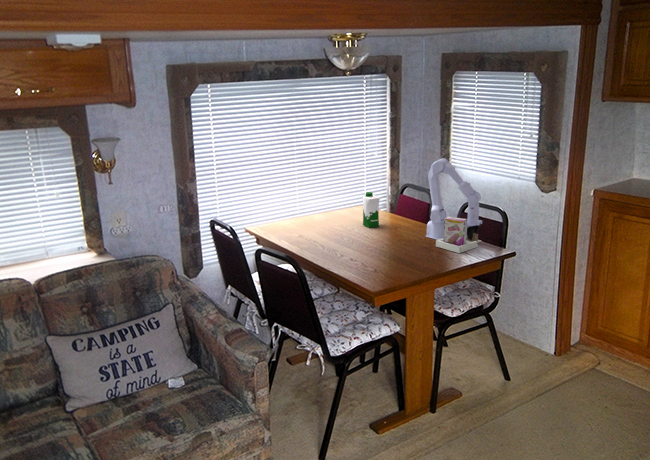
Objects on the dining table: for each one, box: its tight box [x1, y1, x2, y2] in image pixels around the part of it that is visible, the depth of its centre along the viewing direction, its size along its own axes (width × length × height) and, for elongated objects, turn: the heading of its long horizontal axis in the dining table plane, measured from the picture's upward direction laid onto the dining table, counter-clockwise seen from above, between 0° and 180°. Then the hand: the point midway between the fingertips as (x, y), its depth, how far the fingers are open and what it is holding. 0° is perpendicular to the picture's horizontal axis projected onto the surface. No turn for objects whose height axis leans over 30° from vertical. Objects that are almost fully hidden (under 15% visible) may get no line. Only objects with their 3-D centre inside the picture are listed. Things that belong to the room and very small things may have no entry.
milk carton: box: [362, 191, 381, 229], centre depth 358 cm, size 9×9×20 cm
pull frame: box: [435, 233, 482, 254], centre depth 321 cm, size 15×25×5 cm, turn 130°
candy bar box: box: [443, 216, 468, 246], centre depth 315 cm, size 11×5×16 cm, turn 60°
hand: (471, 238), depth 327 cm, fingers closed on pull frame, 2 cm apart
